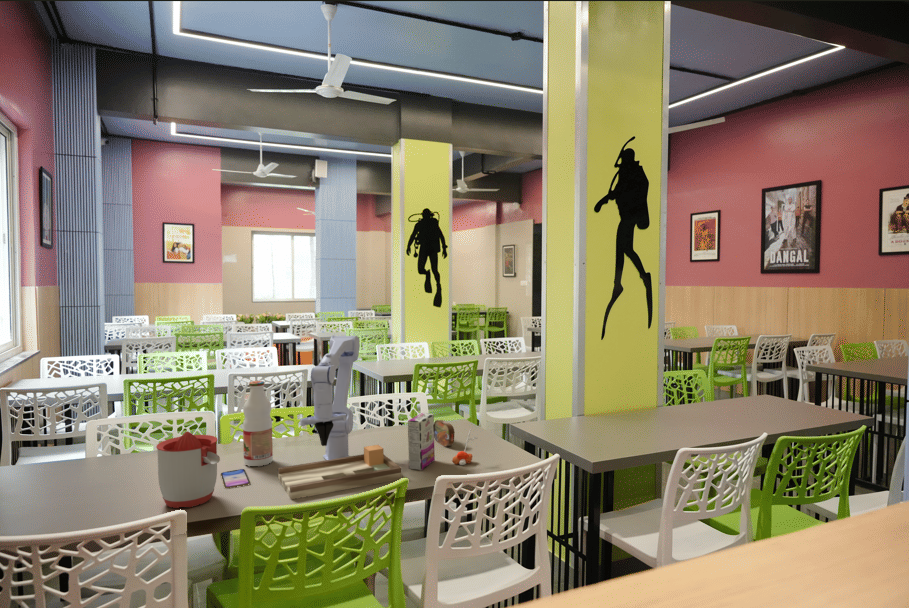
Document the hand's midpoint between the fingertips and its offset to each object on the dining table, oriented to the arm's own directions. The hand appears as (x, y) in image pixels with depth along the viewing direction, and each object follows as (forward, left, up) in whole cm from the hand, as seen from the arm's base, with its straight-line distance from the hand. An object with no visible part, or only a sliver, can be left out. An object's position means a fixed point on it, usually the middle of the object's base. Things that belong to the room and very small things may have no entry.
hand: (323, 445), depth 178 cm
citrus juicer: (+4, -39, -10) cm, 40 cm away
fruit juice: (-22, -17, -10) cm, 29 cm away
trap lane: (+7, +3, -9) cm, 12 cm away
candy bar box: (+7, +31, -10) cm, 33 cm away
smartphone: (-9, -26, -10) cm, 29 cm away
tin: (-11, +49, -10) cm, 51 cm away
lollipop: (+13, +45, -10) cm, 48 cm away
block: (+3, +16, -7) cm, 18 cm away
